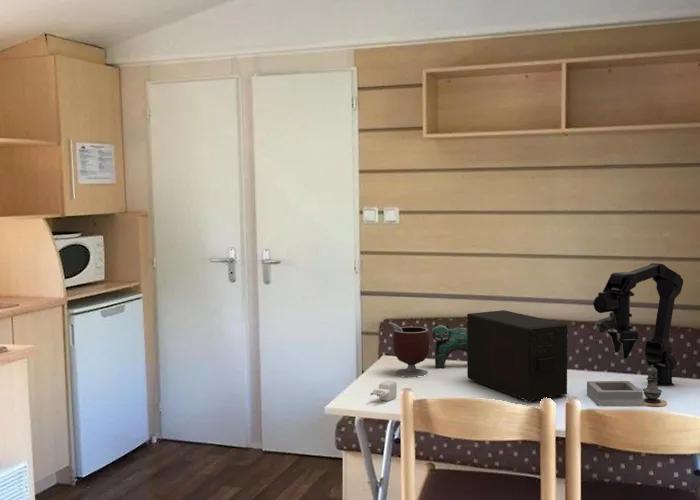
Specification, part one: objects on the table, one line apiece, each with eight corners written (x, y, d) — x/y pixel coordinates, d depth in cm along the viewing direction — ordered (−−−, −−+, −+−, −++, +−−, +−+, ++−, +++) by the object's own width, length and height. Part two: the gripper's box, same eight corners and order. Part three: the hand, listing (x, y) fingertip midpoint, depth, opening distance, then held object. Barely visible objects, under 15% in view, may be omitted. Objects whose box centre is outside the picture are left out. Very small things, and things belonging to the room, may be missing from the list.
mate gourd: (430, 369, 299) (430, 319, 298) (429, 378, 286) (428, 325, 284) (391, 369, 302) (390, 318, 300) (387, 377, 288) (387, 325, 287)
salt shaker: (643, 403, 247) (643, 366, 246) (641, 398, 252) (642, 362, 251) (662, 404, 245) (663, 367, 244) (661, 399, 250) (661, 363, 249)
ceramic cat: (433, 369, 300) (432, 319, 298) (430, 365, 306) (429, 316, 305) (483, 367, 302) (483, 317, 300) (479, 364, 308) (478, 314, 306)
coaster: (661, 399, 253) (661, 397, 253) (671, 406, 244) (671, 404, 244) (633, 399, 253) (633, 397, 253) (642, 406, 244) (642, 405, 244)
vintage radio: (578, 397, 257) (579, 323, 255) (532, 405, 248) (532, 329, 246) (509, 374, 290) (509, 309, 288) (466, 380, 282) (465, 313, 280)
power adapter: (380, 406, 250) (380, 388, 250) (368, 403, 253) (367, 386, 253) (398, 398, 259) (398, 381, 259) (386, 396, 262) (386, 379, 262)
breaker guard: (628, 394, 260) (628, 381, 259) (642, 405, 246) (642, 391, 246) (586, 394, 260) (586, 381, 260) (598, 405, 246) (598, 392, 246)
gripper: (589, 306, 270) (589, 349, 271) (605, 315, 251) (605, 361, 252) (621, 305, 269) (621, 349, 271) (639, 314, 251) (639, 361, 252)
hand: (620, 355), depth 261 cm, fingers open, 9 cm apart
